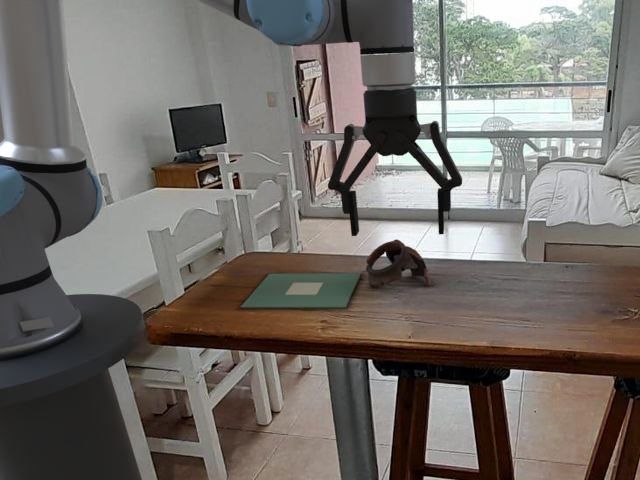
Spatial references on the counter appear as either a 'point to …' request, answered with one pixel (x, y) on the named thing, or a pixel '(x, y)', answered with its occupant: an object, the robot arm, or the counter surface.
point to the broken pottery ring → (395, 264)
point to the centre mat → (304, 291)
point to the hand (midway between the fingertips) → (398, 233)
